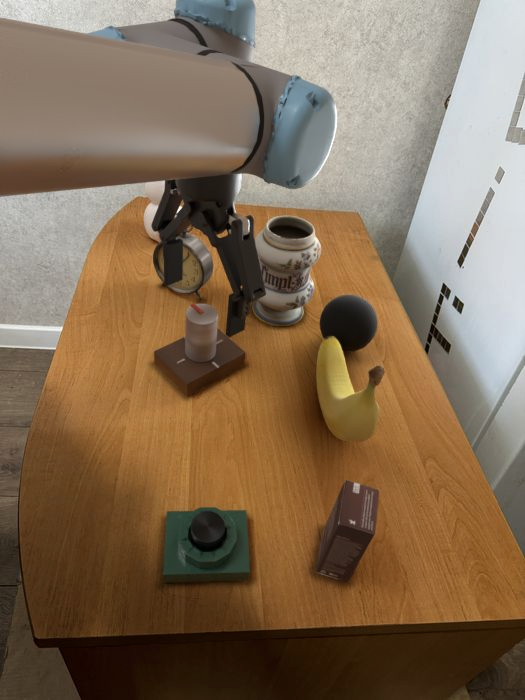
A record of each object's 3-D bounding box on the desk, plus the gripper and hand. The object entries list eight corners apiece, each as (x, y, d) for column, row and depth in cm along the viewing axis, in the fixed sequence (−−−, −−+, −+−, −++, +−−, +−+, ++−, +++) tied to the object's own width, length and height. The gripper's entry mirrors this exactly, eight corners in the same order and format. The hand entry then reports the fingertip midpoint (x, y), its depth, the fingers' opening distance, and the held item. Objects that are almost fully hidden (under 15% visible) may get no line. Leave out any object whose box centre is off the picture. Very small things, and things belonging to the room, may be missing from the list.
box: (350, 583, 64) (376, 535, 56) (314, 572, 65) (334, 523, 56) (356, 539, 68) (380, 488, 60) (322, 529, 69) (342, 477, 61)
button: (190, 551, 61) (190, 542, 60) (190, 519, 64) (191, 510, 63) (224, 550, 62) (225, 542, 60) (223, 519, 65) (224, 510, 63)
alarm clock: (152, 287, 102) (149, 211, 91) (167, 274, 106) (166, 199, 95) (201, 307, 99) (204, 231, 88) (215, 292, 103) (220, 218, 92)
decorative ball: (323, 319, 101) (334, 276, 94) (374, 336, 99) (389, 293, 92) (308, 352, 94) (318, 307, 87) (362, 370, 92) (377, 327, 85)
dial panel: (187, 397, 83) (187, 383, 81) (153, 363, 87) (153, 350, 85) (245, 365, 89) (246, 351, 87) (211, 335, 94) (211, 322, 92)
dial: (222, 353, 87) (225, 314, 81) (197, 366, 84) (199, 327, 78) (203, 337, 89) (204, 298, 83) (178, 349, 86) (178, 309, 81)
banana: (306, 362, 92) (328, 266, 78) (339, 363, 92) (367, 268, 79) (327, 475, 75) (360, 378, 62) (366, 475, 76) (408, 379, 62)
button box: (163, 582, 62) (162, 567, 59) (167, 519, 68) (166, 503, 65) (248, 580, 63) (251, 565, 60) (244, 518, 69) (247, 502, 66)
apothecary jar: (262, 283, 107) (273, 202, 95) (317, 304, 104) (336, 222, 92) (235, 316, 99) (243, 231, 86) (294, 339, 96) (311, 254, 84)
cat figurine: (187, 223, 121) (188, 159, 111) (183, 253, 112) (184, 187, 102) (147, 220, 120) (144, 156, 110) (140, 250, 111) (136, 183, 101)
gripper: (314, 193, 55) (285, 344, 69) (170, 112, 67) (171, 255, 81) (261, 211, 50) (242, 368, 65) (118, 121, 63) (128, 270, 77)
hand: (202, 306), depth 73 cm, fingers open, 13 cm apart
